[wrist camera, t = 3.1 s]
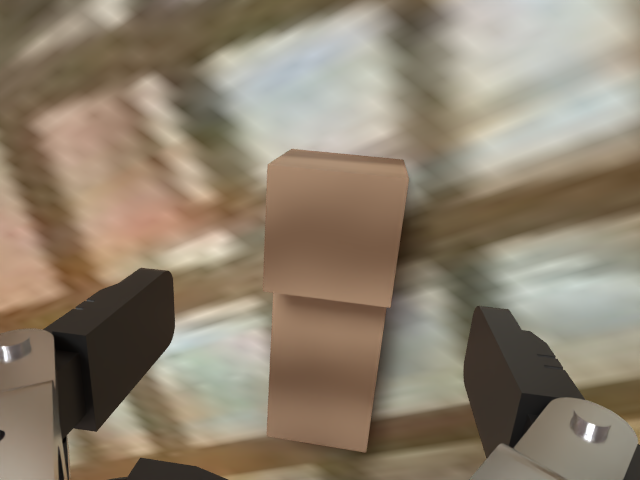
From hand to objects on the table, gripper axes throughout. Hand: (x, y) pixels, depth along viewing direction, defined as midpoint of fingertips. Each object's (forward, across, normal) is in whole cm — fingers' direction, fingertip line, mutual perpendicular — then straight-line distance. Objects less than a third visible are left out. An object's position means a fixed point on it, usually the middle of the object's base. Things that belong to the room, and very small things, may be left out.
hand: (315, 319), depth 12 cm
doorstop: (+10, 0, +4) cm, 10 cm away
